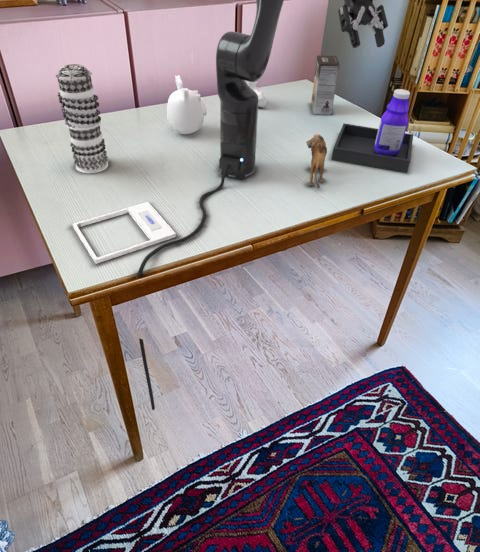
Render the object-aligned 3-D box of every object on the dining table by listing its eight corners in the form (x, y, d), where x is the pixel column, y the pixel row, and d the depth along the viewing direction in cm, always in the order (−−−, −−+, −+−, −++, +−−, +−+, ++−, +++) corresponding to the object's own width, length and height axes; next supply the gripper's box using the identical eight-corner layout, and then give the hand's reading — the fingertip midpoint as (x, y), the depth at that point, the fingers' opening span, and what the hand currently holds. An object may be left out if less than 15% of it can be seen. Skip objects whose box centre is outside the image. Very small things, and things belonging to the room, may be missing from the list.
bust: (243, 104, 164) (226, 81, 155) (258, 88, 163) (242, 64, 154) (260, 117, 156) (243, 93, 147) (276, 100, 155) (260, 76, 146)
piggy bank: (214, 134, 140) (213, 84, 130) (180, 143, 134) (176, 91, 125) (193, 120, 147) (191, 71, 137) (160, 128, 142) (156, 77, 132)
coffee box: (310, 103, 160) (316, 54, 149) (328, 104, 160) (336, 55, 150) (313, 114, 153) (319, 63, 143) (332, 115, 153) (340, 64, 143)
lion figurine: (302, 162, 128) (306, 131, 122) (322, 162, 128) (326, 132, 122) (308, 190, 117) (313, 157, 111) (329, 190, 117) (335, 158, 111)
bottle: (397, 149, 134) (413, 88, 123) (400, 158, 130) (417, 96, 119) (372, 147, 135) (386, 86, 123) (374, 156, 131) (389, 94, 119)
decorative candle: (66, 170, 121) (42, 70, 105) (87, 155, 128) (67, 59, 111) (97, 177, 119) (77, 76, 102) (116, 161, 126) (100, 64, 109)
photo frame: (175, 232, 100) (94, 259, 92) (176, 236, 101) (95, 263, 93) (147, 201, 109) (72, 223, 101) (148, 205, 110) (73, 227, 102)
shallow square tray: (406, 173, 125) (410, 161, 123) (331, 159, 130) (333, 147, 127) (410, 145, 138) (413, 134, 135) (341, 134, 142) (343, 123, 140)
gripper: (344, -26, 115) (358, 39, 116) (386, -24, 121) (399, 38, 123) (326, -8, 122) (339, 54, 123) (366, -7, 128) (379, 52, 129)
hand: (369, 46), depth 123 cm, fingers open, 8 cm apart
